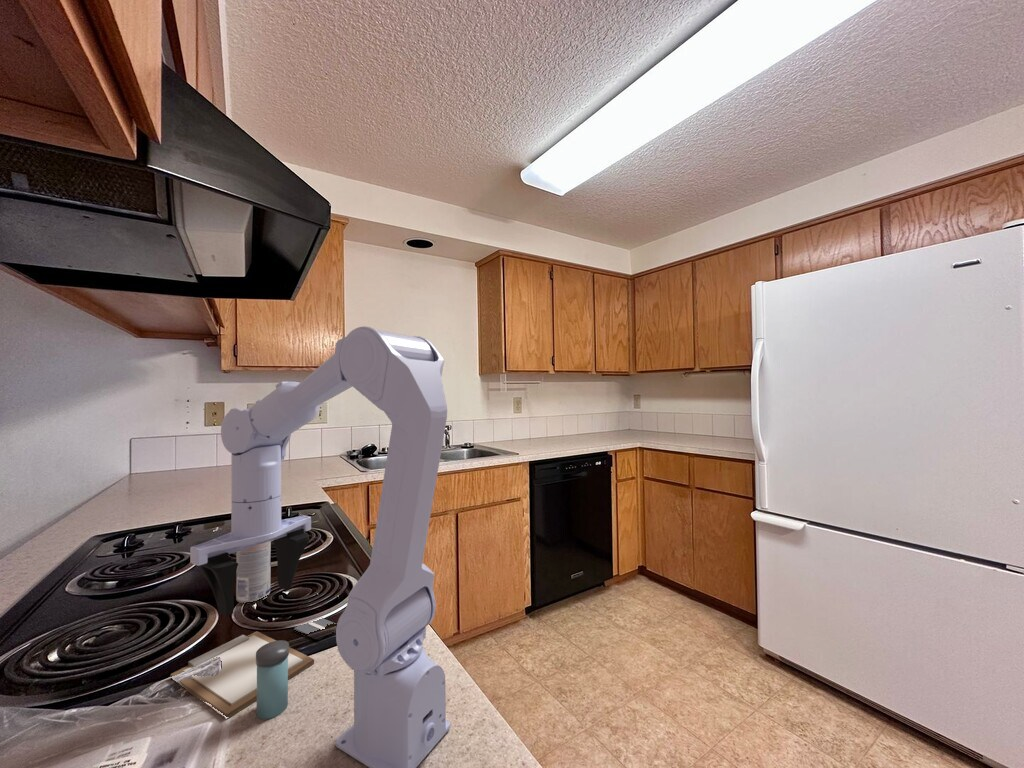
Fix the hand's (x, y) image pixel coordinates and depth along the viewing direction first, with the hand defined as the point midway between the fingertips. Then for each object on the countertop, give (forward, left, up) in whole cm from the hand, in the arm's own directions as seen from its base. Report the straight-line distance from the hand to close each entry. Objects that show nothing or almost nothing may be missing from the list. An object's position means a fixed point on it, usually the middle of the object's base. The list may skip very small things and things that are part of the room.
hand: (257, 599), depth 55 cm
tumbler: (-8, +3, -10) cm, 13 cm away
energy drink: (+22, -11, -10) cm, 27 cm away
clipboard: (+2, +1, -10) cm, 10 cm away
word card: (+2, -10, -10) cm, 15 cm away
